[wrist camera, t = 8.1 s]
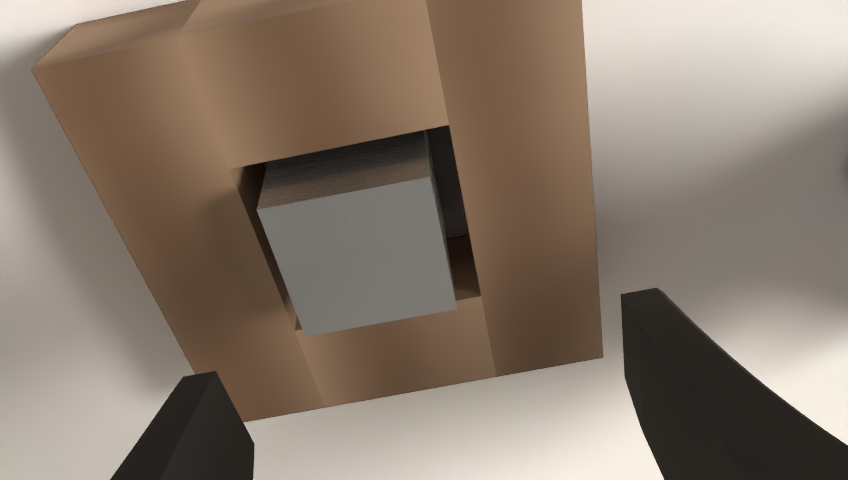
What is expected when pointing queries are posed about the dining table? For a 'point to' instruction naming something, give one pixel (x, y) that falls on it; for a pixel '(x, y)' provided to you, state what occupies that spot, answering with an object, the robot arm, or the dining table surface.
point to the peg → (359, 233)
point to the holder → (330, 128)
